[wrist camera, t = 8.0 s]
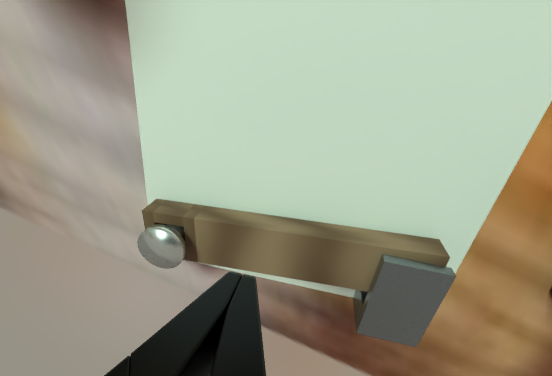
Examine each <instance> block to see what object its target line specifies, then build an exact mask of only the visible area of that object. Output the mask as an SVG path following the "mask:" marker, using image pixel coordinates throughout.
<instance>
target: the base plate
mask: <svg viewBox="0 0 552 376" xmlns="http://www.w3.org/2000/svg"><path fill="white" fill-rule="evenodd" d="M125 4H126V13H127V22H128V31H129V40H130V49H131V58H132V67H133V76H134V85H135V94H136V103H137V112H138V121H139V130H140V139H141V148H142V157H143V166H144V175H145V184H146V193H147V202H148V205H149V204H151V203H152V202H153V201H154V200H155V199H163V200H170V201H177V202H184V203H191V204H198V205H205V206H212V207H219V208H226V209H233V210H239V211H246V212H253V213H260V214H267V215H274V216H281V217H288V218H295V219H302V220H309V221H316V222H323V223H330V224H337V225H344V226H351V227H358V228H365V229H372V230H379V231H386V232H393V233H400V234H407V235H414V236H420V237H427V238H434V239H440V241H441V243H442V244H443V246H444V248H445V250H446V251H447V253H448V255H449V256H450V259H449V261H448V263H447V266H446V267H450V268H452V270H453V272H454V273H456V271H457V269H458V267H459V265H460V264H461V262H462V260H463V258H464V257H465V255H466V253H467V251H468V249H469V248H470V246H471V244H472V242H473V240H474V239H475V237H476V235H477V233H478V231H479V230H480V228H481V226H482V224H483V223H484V221H485V219H486V217H487V215H488V214H489V212H490V210H491V208H492V206H493V205H494V203H495V201H496V199H497V197H498V196H499V194H500V192H501V190H502V189H503V187H504V185H505V183H506V181H507V180H508V178H509V176H510V174H511V172H512V171H513V169H514V167H515V165H516V163H517V162H518V160H519V158H520V156H521V154H522V153H523V151H524V149H525V147H526V146H527V144H528V142H529V140H530V138H531V137H532V135H533V133H534V131H535V129H536V128H537V126H538V124H539V122H540V120H541V119H542V117H543V115H544V113H545V112H546V110H547V108H548V106H549V104H550V103H551V101H552V0H125ZM184 238H185V233H184V227H182V226H176V225H169V224H167V225H166V226H165V225H158V224H157V225H152V226H149V227H148V228H147V229H146V230H145V231H143V232H142V233H141V234H140V236H139V238H138V248H139V251H140V253H141V254H142V256H143V257H144V258H145V259H146V260H147V261H148V262H150V263H151V264H153V265H155V266H157V267H160V268H167V269H168V268H174V267H176V266H178V265H179V264H180V263H181V261H182V260H183V258H184V257H185V255H186V252H187V247H186V243H185V241H184ZM186 261H187V260H186ZM190 262H193V261H190ZM195 263H199V262H195ZM199 264H204V263H199ZM204 265H208V266H213V267H217V268H222V269H226V270H231V271H235V272H240V273H244V274H249V275H253V276H258V277H262V278H267V279H271V280H275V281H280V282H284V283H289V284H293V285H298V286H302V287H307V288H311V289H316V290H320V291H325V292H329V293H334V294H338V295H343V296H347V297H352V298H353V297H354V294H355V291H356V290H355V289H349V288H343V287H337V286H332V285H326V284H320V283H314V282H308V281H303V280H297V279H291V278H285V277H280V276H274V275H268V274H262V273H256V272H251V271H245V270H239V269H233V268H228V267H222V266H216V265H210V264H204Z"/></svg>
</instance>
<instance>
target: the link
mask: <svg viewBox="0 0 552 376" xmlns="http://www.w3.org/2000/svg"><path fill="white" fill-rule="evenodd" d="M142 214H143V219H144V225H145V230H146V229H147V228H148V227H149V226H152V225H157V224H158V225H165V226H166V225H167V224H169V225H176V226H182V227H184V233H185V238H184V241H185V243H186V247H187V252H186V255H185V257H184V258H183V260H187V261H193V262H199V263H204V264H210V265H216V266H222V267H228V268H233V269H239V270H245V271H251V272H256V273H262V274H268V275H274V276H280V277H285V278H291V279H297V280H303V281H308V282H314V283H320V284H326V285H332V286H337V287H343V288H349V289H355V290H360V291H366V292H368V290H369V288H370V285H371V283H372V280H373V277H374V275H375V272H376V269H377V267H378V264H379V261H380V259H381V256H382V254H386V255H391V256H396V257H401V258H406V259H411V260H415V261H420V262H425V263H430V264H435V265H440V266H445V267H446V266H447V263H448V261H449V259H450V256H449V255H448V253H447V251H446V250H445V248H444V246H443V244H442V243H441V241H440V239H434V238H427V237H420V236H414V235H407V234H400V233H393V232H386V231H379V230H372V229H365V228H358V227H351V226H344V225H337V224H330V223H323V222H316V221H309V220H302V219H295V218H288V217H281V216H274V215H267V214H260V213H253V212H246V211H239V210H233V209H226V208H219V207H212V206H205V205H198V204H191V203H184V202H177V201H170V200H163V199H155V200H154V201H153V202H152V203H151V204H149V205H148V206H147V207H146V208H145V209H143V210H142Z"/></svg>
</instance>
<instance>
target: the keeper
mask: <svg viewBox="0 0 552 376" xmlns="http://www.w3.org/2000/svg"><path fill="white" fill-rule="evenodd" d="M455 278H456V275H455V273H454V272H453V270H452V268H450V267H445V266H440V265H435V264H430V263H425V262H420V261H415V260H411V259H406V258H401V257H396V256H391V255H386V254H382V256H381V259H380V261H379V264H378V267H377V269H376V272H375V275H374V277H373V280H372V283H371V285H370V288H369V290H368V292H366V291H360V290H356V291H355V294H354V297H353V302H354V312H355V323H356V333H358V334H362V335H367V336H371V337H375V338H379V339H384V340H388V341H392V342H396V343H401V344H405V345H409V346H413V347H417V345H418V343H419V341H420V339H421V338H422V336H423V334H424V332H425V331H426V329H427V327H428V325H429V324H430V322H431V320H432V318H433V316H434V315H435V313H436V311H437V309H438V308H439V306H440V304H441V302H442V301H443V299H444V297H445V295H446V293H447V292H448V290H449V288H450V286H451V285H452V283H453V281H454V279H455Z"/></svg>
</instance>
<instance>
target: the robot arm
mask: <svg viewBox="0 0 552 376" xmlns="http://www.w3.org/2000/svg"><path fill="white" fill-rule="evenodd" d="M104 376H266V371H265V361H264V351H263V342H262V332H261V323H260V313H259V303H258V294H257V284H256V278H255V277H254V276H249V275H243V276H242V274H240V273H236V272H228V273H227V274H225V275H224V276H223V277H222V278H221V279H220V280H218V281H217V282H216V283H215V284H214V285H212V286H211V287H210V288H209V289H208V290H206V291H205V292H204V293H203V294H202V295H200V296H199V297H198V298H197V299H196V300H195V301H194V302H192V303H191V304H190V305H189V306H187V307H186V308H185V309H184V310H183V311H181V312H180V313H179V314H178V315H177V316H175V317H174V318H173V319H172V320H171V321H169V323H167V324H166V325H165V326H163V327H162V328H161V329H160V330H159V331H158V332H157V333H155V334H154V335H153V336H152V337H150V338H149V339H148V340H147V341H146V342H144V343H143V344H142V345H141V346H140V347H138V348H137V349H136V350H135V351H134V352H132V353H131V357H130V356H127V357H126V358H125V359H124V360H123V361H122V362H120V363H119V364H118V365H117V366H116V367H114V368H113V369H112V370H111V371H109V372H108V373H107V374H106V375H104Z"/></svg>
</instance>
